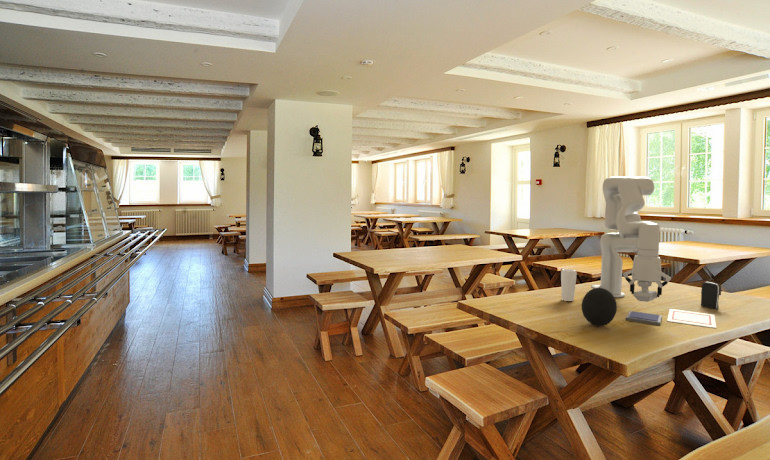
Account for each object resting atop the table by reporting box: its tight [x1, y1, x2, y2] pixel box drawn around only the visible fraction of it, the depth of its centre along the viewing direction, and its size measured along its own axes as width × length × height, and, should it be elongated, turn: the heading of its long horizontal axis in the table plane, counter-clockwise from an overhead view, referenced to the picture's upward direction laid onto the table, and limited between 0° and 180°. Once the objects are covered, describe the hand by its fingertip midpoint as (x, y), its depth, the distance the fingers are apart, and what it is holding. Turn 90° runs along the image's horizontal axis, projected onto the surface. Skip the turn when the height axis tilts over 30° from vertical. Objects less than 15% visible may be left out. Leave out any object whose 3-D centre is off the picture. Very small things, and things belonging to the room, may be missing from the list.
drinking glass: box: [560, 268, 577, 302], centre depth 212 cm, size 7×7×15 cm
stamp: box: [632, 280, 658, 303], centre depth 182 cm, size 9×7×8 cm
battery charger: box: [700, 281, 722, 310], centre depth 201 cm, size 7×4×11 cm, turn 21°
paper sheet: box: [666, 308, 717, 329], centre depth 184 cm, size 16×22×1 cm
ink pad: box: [625, 310, 663, 326], centre depth 183 cm, size 12×12×2 cm
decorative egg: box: [581, 288, 618, 327], centre depth 174 cm, size 12×12×15 cm
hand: (645, 295), depth 182 cm, fingers closed on stamp, 8 cm apart
